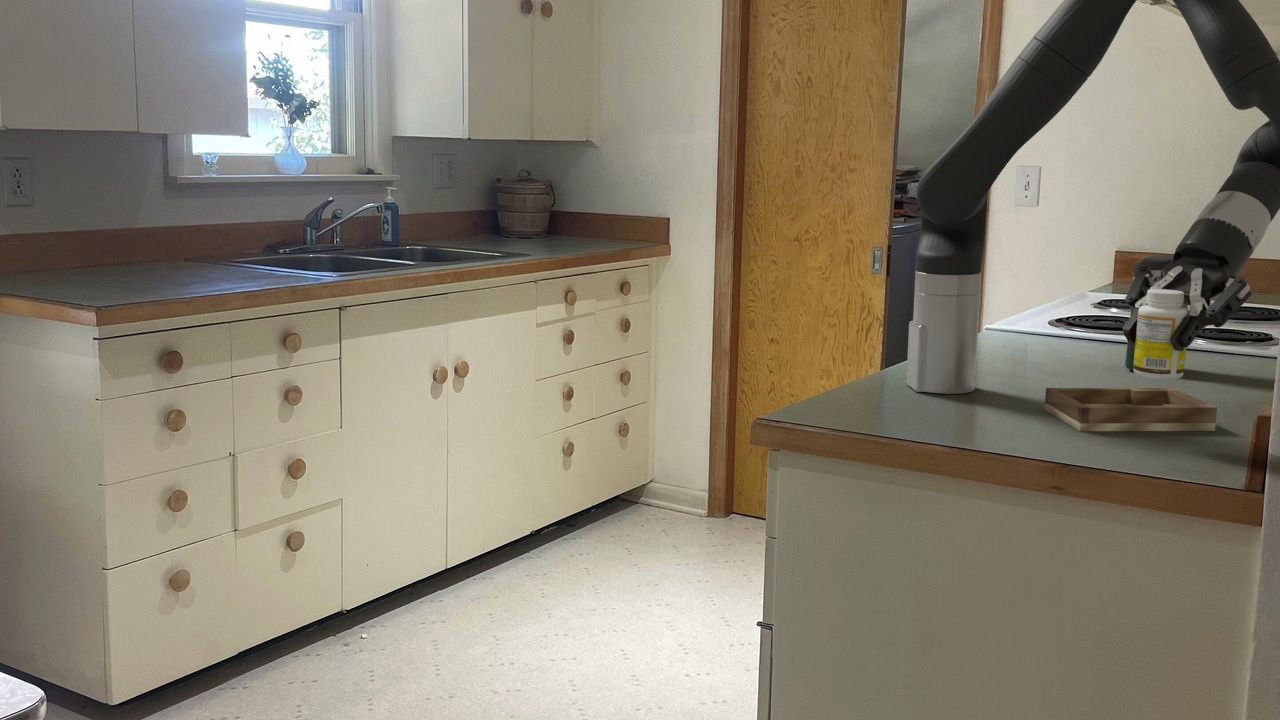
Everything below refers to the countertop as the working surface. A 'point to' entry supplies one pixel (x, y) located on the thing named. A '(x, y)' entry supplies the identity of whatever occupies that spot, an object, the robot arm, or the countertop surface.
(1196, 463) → the countertop surface
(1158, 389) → the shallow wooden tray
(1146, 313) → the supplement bottle
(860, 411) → the countertop surface
